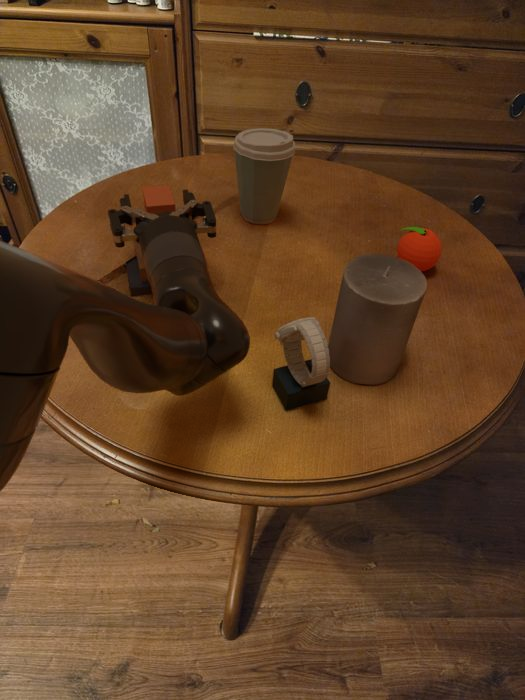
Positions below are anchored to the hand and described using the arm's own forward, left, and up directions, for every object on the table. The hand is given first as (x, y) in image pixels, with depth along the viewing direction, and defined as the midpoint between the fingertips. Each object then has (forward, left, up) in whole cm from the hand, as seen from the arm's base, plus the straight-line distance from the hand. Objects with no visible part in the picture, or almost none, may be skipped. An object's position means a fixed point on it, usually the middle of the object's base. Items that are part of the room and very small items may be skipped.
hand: (156, 197), depth 73 cm
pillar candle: (+37, -1, -11) cm, 38 cm away
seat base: (+1, 0, -11) cm, 11 cm away
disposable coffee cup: (+5, +22, -11) cm, 25 cm away
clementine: (+34, +24, -11) cm, 43 cm away
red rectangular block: (+1, 0, -9) cm, 9 cm away
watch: (+33, -11, -11) cm, 36 cm away
